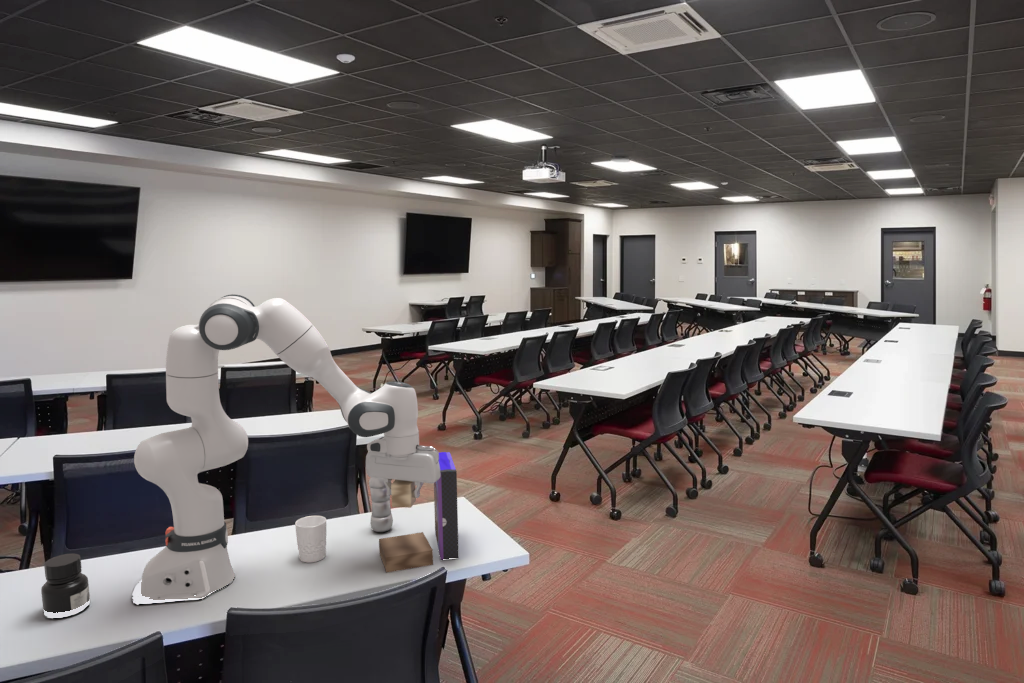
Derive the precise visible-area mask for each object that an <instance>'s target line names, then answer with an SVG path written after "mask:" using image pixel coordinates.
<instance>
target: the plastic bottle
mask: <svg viewBox="0 0 1024 683" xmlns="http://www.w3.org/2000/svg"><path fill="white" fill-rule="evenodd" d="M368 480H369V481H368V485H369V490H370V499H371V516H370V527H371V529H372V531H373V532H375V533H385V532H387V531H390V530H391V529H392V527H393V523H394V519H393V514H392V509H391V507H392V506H391V495H388V489H387V487H386V486H385V484H384V482H383V478H374V477H369V479H368Z"/></svg>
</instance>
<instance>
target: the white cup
mask: <svg viewBox="0 0 1024 683" xmlns="http://www.w3.org/2000/svg"><path fill="white" fill-rule="evenodd" d="M294 526H295V534H296V545H297V550H298V556H299V561H301V562H302V563H316V562H319V561H321V560H323V559H325V557H326V556H327V551H326V550H327V549H326V548H327V547H326V546H327V518H326V517H325V516H322V515H309V516H305V517H301V518H298V519H297V520H296V521H295V524H294Z"/></svg>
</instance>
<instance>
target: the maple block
mask: <svg viewBox="0 0 1024 683" xmlns="http://www.w3.org/2000/svg"><path fill="white" fill-rule="evenodd" d="M391 483H392V484H391V494H392V495H391V507H392V508H405V509H407V508H409V509H410V508H413V505H415V503H416V501H417V498H412V491H413V490H414V489H416V487H417V486H415V482H413V481H403V480H394V481H393V482H391Z"/></svg>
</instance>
